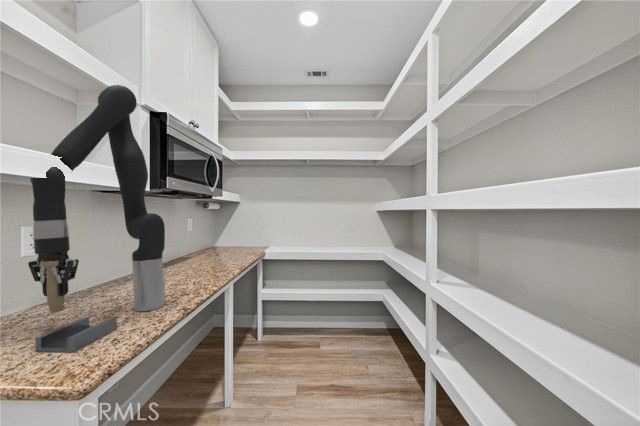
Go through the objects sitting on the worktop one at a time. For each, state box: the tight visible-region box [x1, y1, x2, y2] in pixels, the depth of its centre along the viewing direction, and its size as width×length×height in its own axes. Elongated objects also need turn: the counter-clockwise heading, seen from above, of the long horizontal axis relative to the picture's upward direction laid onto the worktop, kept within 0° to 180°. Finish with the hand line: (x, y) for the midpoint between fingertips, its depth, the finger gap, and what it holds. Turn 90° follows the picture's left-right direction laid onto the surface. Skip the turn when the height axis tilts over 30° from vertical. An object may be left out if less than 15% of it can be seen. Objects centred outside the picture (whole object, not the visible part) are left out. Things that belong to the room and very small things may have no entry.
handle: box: [41, 260, 66, 314], centre depth 86 cm, size 5×6×15 cm
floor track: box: [34, 316, 118, 353], centre depth 80 cm, size 14×10×4 cm
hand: (55, 295), depth 86 cm, fingers closed on handle, 4 cm apart
